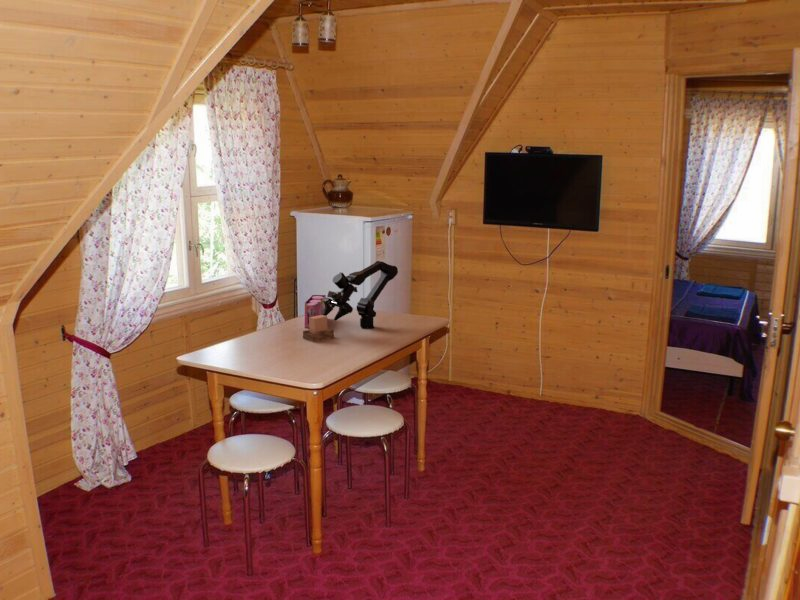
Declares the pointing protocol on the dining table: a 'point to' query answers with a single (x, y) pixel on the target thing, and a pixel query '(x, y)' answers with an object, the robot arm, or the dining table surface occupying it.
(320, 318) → the terracotta block
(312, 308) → the gum box
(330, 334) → the walnut rack
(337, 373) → the dining table surface
